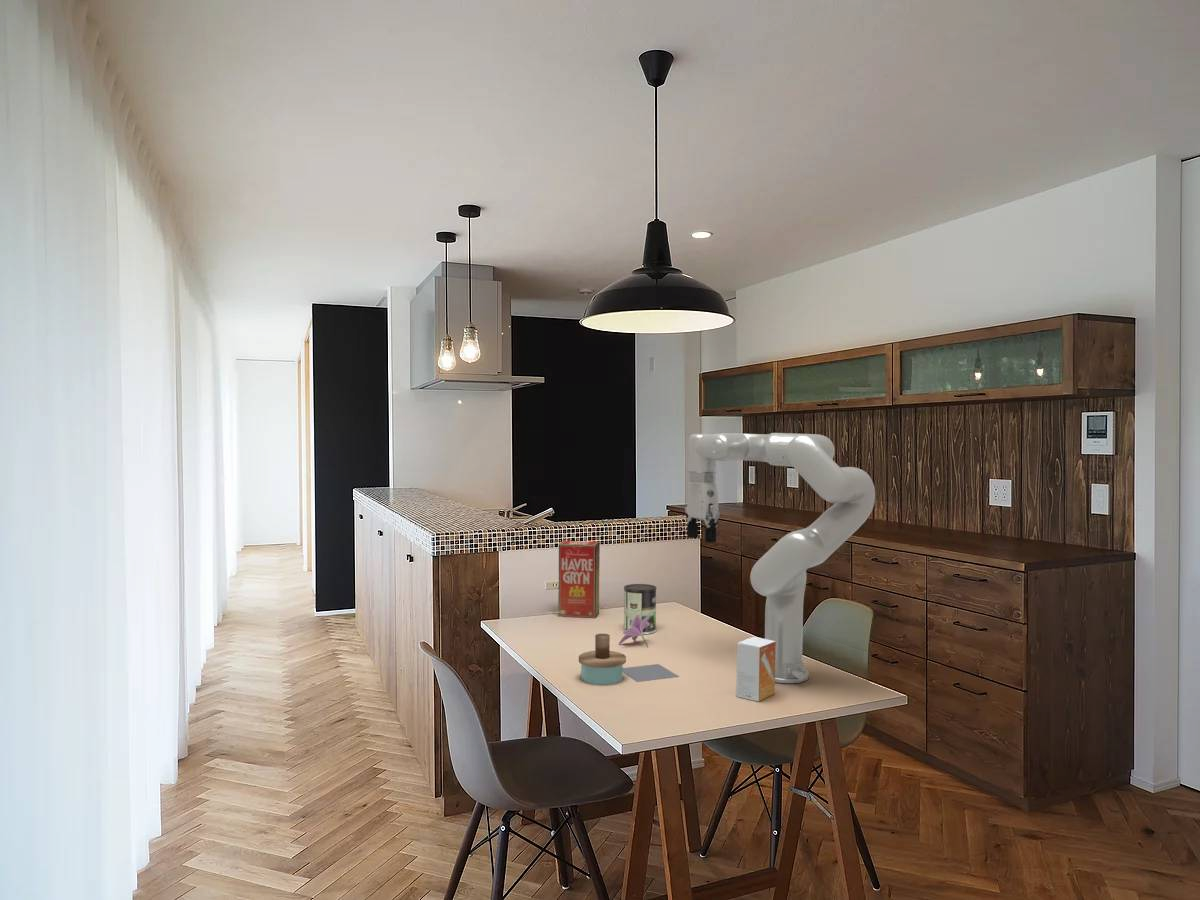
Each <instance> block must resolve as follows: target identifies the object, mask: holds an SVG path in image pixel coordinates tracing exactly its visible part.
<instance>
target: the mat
mask: <svg viewBox="0 0 1200 900" xmlns="http://www.w3.org/2000/svg"><path fill="white" fill-rule="evenodd" d="M623 674H624V675H626V676H627V677H629V678H630V679H632V680H633V681H635V682H637V683H639V682H640V683H641V682H649V681H656V680H657V681H658V680H666V679H672V678H673V679H674V678H679V677H680V676H679V675H678V674H676V673H674V672H672V671H671V670H669V669H668V668H666V667H664V666H663V665H661V664H659V663H656V664H654V663H653V664H648V665H647V664H646V665H637V666H628V667H623Z"/></svg>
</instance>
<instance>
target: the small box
mask: <svg viewBox="0 0 1200 900" xmlns="http://www.w3.org/2000/svg"><path fill="white" fill-rule="evenodd" d="M775 653H776V641H773V640H768V639H765V638H762V637H759V636H758V637H757V636H752V637H749V638H747V639H743V640H741V641H739V642H737V643H736V684H735V685H736V686H735V687H736V689H735V692H736V693H735V696H736V697H738V698H741V699H746V700H750V701H755V702H761V701H762V700H765V699H767V698H768V697H769V698H770V697H771V696H773V694H774V695H775V693H776V691H775V690H776V688H775V687H776V682H775Z"/></svg>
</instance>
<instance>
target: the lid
mask: <svg viewBox="0 0 1200 900" xmlns="http://www.w3.org/2000/svg"><path fill="white" fill-rule="evenodd" d="M594 637H595V638H594V639H595V641H594V642H595V644H594V645H595V647H594V648H595V650H591V651H585V652H583V653H581V654H579V655H578V663H579V664H582V665H585V666H589V667H596V668H610V667H617V666H621V665H625V664H626V662H627V656H626V655H625V654H623V653H622V652H619V651H612V650H610V637H611V636H610V634H608V633H596V634H595V636H594Z"/></svg>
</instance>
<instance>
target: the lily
mask: <svg viewBox="0 0 1200 900" xmlns="http://www.w3.org/2000/svg"><path fill="white" fill-rule="evenodd" d="M651 615H652V614H651ZM651 615H649V616H648V617H646V618H645V619H643V620H642V619H641V618H640V616H639V615H636V616H635V618H634V619H633V621H632V624H631V628H629V629H627V630H626V631H624V630H623V632H622V635H624V636H622V638H621V639H620V641H619V642H618V645H621V644H622V643H624V642H625V641H627V640H628V639H629V638H631V639H632V641H634V642H636V641H637V638H638V637H639V636H640V637H642V640H643V641H644V643H645V645H646V647H647V648H649V646H648V643H647V641H646V639H645V638H644V635H643V634H642V632H643V628H645V627H647V626H649V625H650V623H648V622H647V620H648V619H649V618H650V616H651Z"/></svg>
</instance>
